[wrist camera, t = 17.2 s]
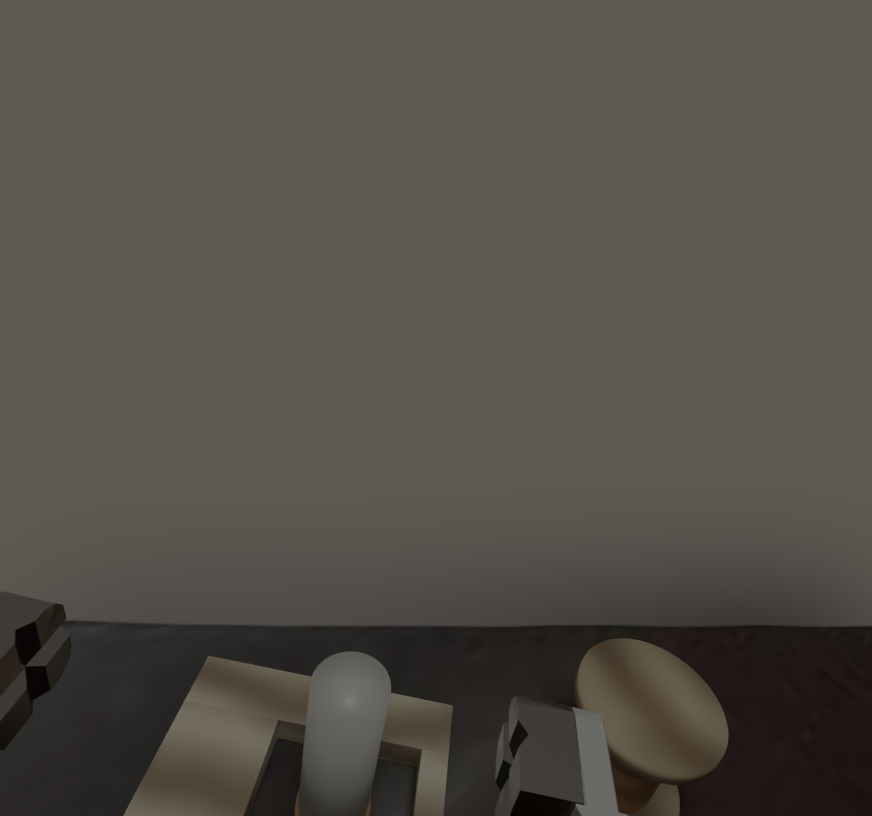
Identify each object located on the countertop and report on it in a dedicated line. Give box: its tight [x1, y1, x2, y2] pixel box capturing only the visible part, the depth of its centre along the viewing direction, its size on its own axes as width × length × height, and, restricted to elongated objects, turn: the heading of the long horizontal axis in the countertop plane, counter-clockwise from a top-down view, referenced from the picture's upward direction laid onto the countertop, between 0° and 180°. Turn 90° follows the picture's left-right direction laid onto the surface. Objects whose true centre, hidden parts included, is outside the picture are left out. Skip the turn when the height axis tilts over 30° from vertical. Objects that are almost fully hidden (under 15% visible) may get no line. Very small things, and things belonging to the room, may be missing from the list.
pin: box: [294, 652, 391, 816], centre depth 32 cm, size 4×4×13 cm
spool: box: [574, 638, 728, 816], centre depth 38 cm, size 9×9×9 cm
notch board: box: [123, 656, 453, 816], centre depth 37 cm, size 12×18×2 cm
